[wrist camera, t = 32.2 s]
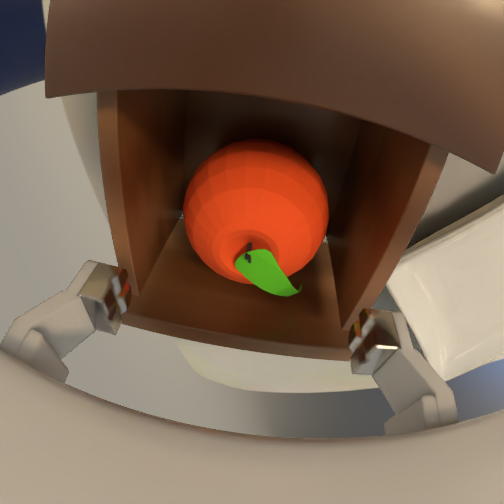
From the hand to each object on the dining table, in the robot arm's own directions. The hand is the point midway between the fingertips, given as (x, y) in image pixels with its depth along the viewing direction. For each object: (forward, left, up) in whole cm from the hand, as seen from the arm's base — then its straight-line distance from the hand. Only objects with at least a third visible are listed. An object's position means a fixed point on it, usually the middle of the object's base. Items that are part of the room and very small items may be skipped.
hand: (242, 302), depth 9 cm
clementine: (0, 0, -9) cm, 9 cm away
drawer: (0, -1, -10) cm, 10 cm away
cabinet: (0, +13, -11) cm, 17 cm away
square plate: (+28, -4, -11) cm, 30 cm away
